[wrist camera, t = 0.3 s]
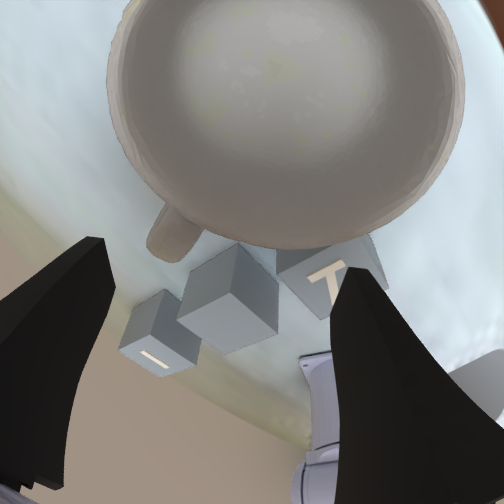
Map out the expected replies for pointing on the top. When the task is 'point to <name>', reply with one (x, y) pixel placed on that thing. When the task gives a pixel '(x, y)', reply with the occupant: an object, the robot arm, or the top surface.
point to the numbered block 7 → (326, 271)
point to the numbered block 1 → (160, 337)
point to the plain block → (230, 301)
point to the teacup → (284, 115)
